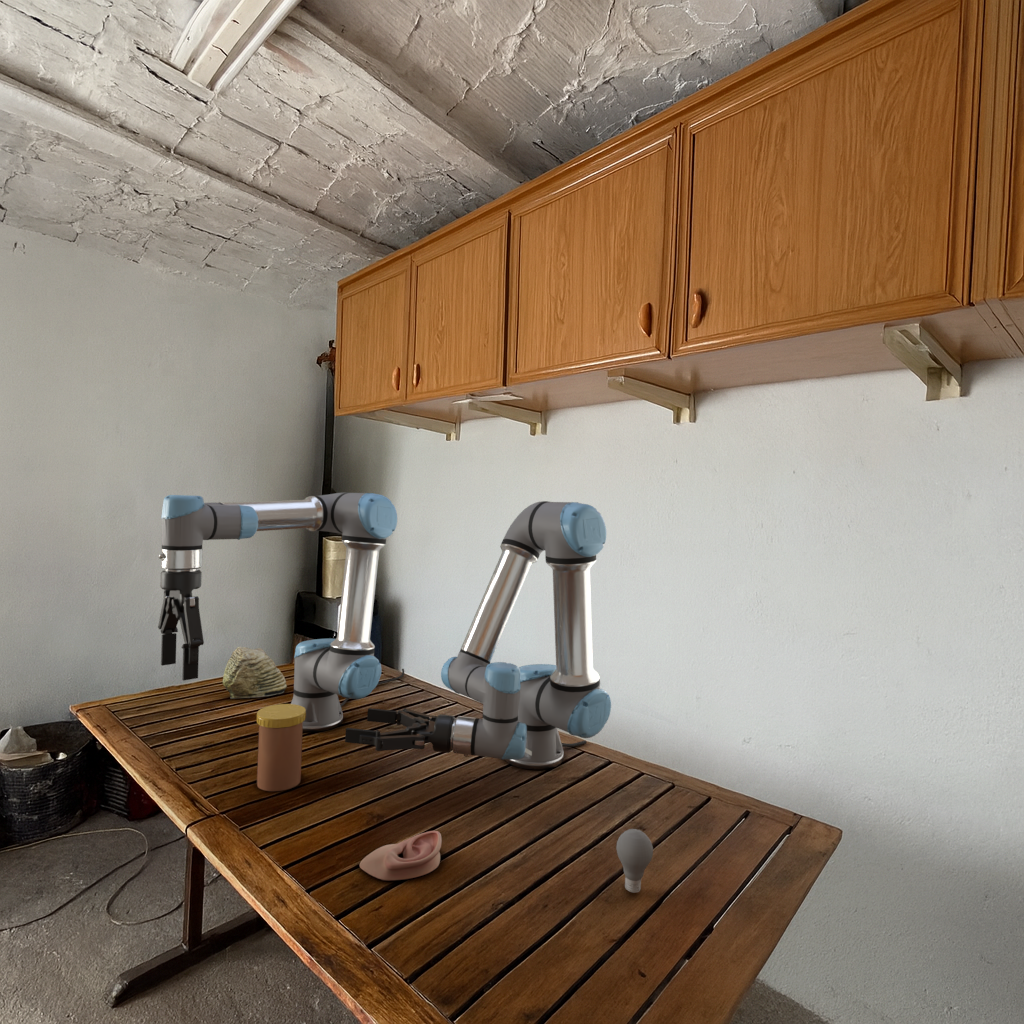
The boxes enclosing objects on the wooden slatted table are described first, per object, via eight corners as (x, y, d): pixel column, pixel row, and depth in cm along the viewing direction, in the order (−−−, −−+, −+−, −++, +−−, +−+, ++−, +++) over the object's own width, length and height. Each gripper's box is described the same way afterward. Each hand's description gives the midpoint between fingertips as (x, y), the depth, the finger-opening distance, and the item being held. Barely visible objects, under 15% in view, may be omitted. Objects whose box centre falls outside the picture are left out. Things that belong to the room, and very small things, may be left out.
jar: (263, 772, 144) (266, 706, 144) (304, 772, 145) (307, 706, 144) (251, 791, 135) (253, 720, 134) (295, 791, 136) (297, 720, 135)
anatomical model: (352, 851, 106) (379, 818, 118) (351, 875, 106) (379, 839, 118) (427, 864, 104) (448, 829, 115) (426, 888, 104) (447, 850, 115)
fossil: (218, 695, 195) (220, 647, 195) (278, 685, 208) (279, 640, 207) (228, 703, 189) (230, 653, 188) (289, 692, 201) (290, 645, 201)
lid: (264, 711, 144) (264, 703, 144) (310, 712, 145) (310, 704, 145) (250, 728, 134) (250, 719, 134) (299, 728, 135) (300, 719, 135)
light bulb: (610, 879, 108) (613, 822, 108) (644, 879, 109) (647, 822, 109) (619, 902, 102) (622, 840, 102) (655, 901, 103) (658, 840, 103)
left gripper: (143, 564, 137) (141, 661, 138) (182, 577, 120) (179, 689, 120) (180, 562, 142) (178, 656, 143) (223, 575, 125) (220, 682, 125)
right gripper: (439, 775, 122) (334, 763, 125) (463, 732, 147) (374, 723, 149) (442, 737, 122) (336, 725, 125) (465, 700, 147) (376, 691, 149)
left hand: (178, 671), depth 132 cm, fingers open, 13 cm apart
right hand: (357, 724), depth 137 cm, fingers open, 13 cm apart
